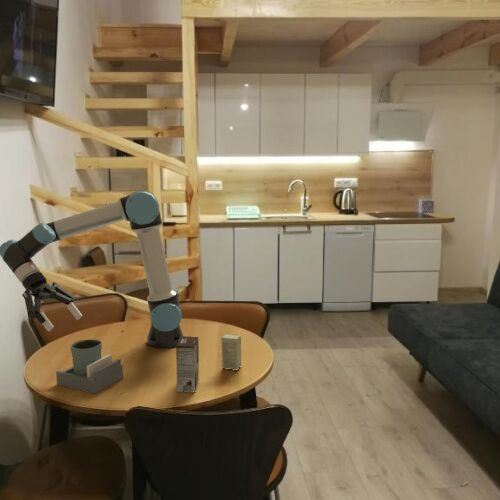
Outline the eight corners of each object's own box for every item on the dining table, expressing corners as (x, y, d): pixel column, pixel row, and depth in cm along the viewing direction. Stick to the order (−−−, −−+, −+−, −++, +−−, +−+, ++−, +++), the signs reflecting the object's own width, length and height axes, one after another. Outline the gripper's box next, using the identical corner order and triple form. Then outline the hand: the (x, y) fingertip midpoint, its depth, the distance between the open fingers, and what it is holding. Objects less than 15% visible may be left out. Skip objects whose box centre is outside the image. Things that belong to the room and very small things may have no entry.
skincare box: (241, 367, 179) (242, 335, 177) (237, 371, 175) (237, 339, 172) (225, 364, 181) (225, 333, 179) (221, 369, 177) (221, 337, 175)
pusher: (86, 385, 159) (85, 365, 158) (109, 372, 169) (108, 354, 168) (89, 386, 158) (88, 366, 157) (112, 373, 169) (111, 354, 167)
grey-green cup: (73, 385, 159) (71, 350, 158) (71, 374, 169) (69, 341, 167) (105, 380, 163) (103, 346, 162) (101, 369, 173) (99, 337, 171)
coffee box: (180, 380, 167) (180, 335, 164) (199, 380, 167) (199, 336, 164) (176, 392, 158) (175, 345, 155) (195, 392, 158) (195, 345, 155)
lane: (56, 384, 163) (55, 364, 161) (86, 369, 175) (85, 350, 174) (95, 393, 156) (94, 373, 155) (123, 377, 169) (122, 358, 168)
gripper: (52, 277, 185) (85, 319, 181) (-5, 292, 162) (32, 341, 159) (62, 264, 182) (96, 307, 178) (6, 278, 159) (43, 327, 156)
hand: (66, 323), depth 169 cm, fingers open, 13 cm apart
